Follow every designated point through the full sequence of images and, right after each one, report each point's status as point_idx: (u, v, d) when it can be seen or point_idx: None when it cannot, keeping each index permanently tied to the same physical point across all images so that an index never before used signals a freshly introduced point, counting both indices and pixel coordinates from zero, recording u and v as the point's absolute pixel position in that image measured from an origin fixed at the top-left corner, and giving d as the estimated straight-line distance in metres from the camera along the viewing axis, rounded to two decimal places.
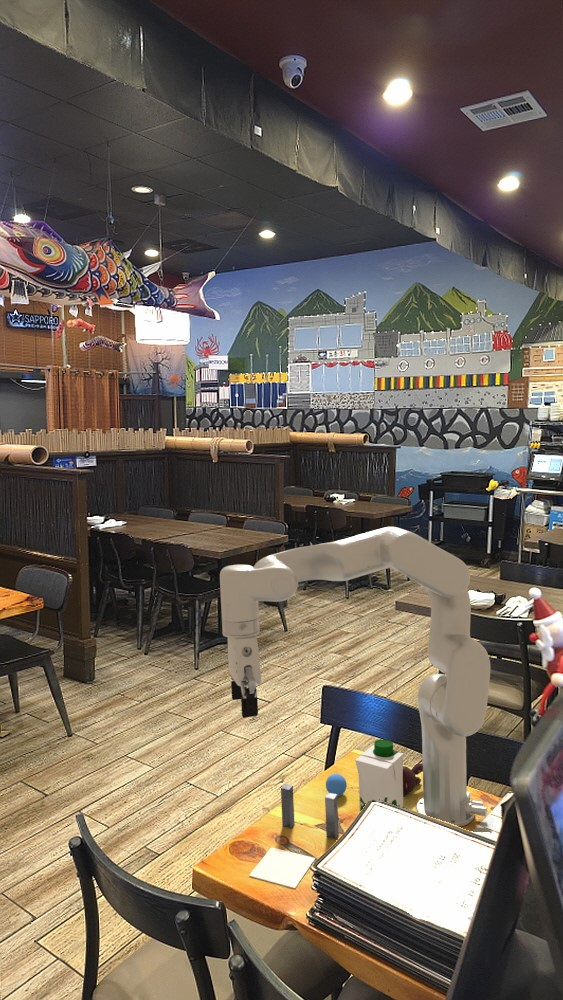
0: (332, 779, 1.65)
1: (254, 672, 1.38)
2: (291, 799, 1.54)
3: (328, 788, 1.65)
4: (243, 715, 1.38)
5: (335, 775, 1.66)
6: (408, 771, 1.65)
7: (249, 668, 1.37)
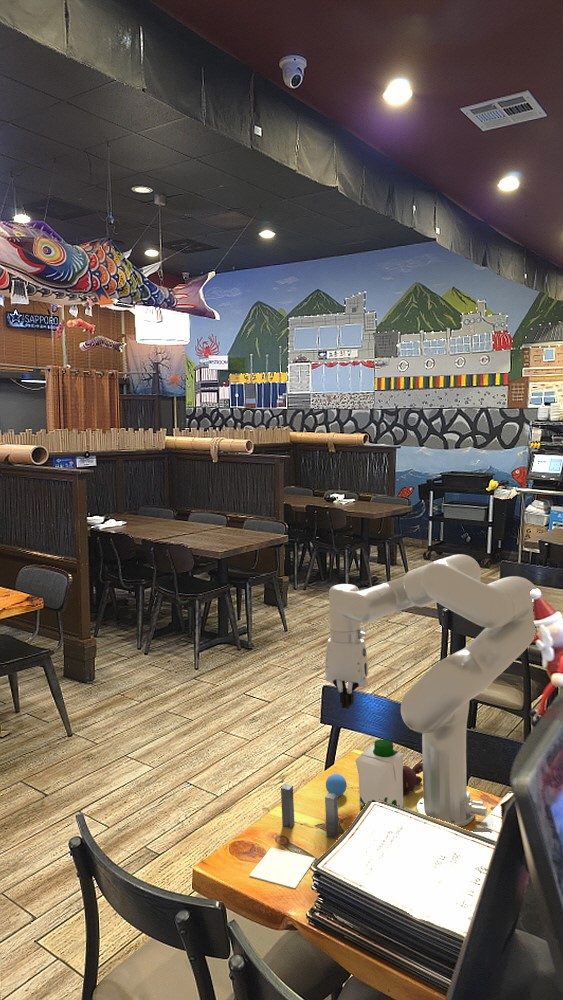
0: (332, 779, 1.65)
1: (367, 667, 1.71)
2: (291, 799, 1.54)
3: (328, 788, 1.65)
4: (348, 707, 1.72)
5: (335, 775, 1.66)
6: (408, 770, 1.65)
7: None
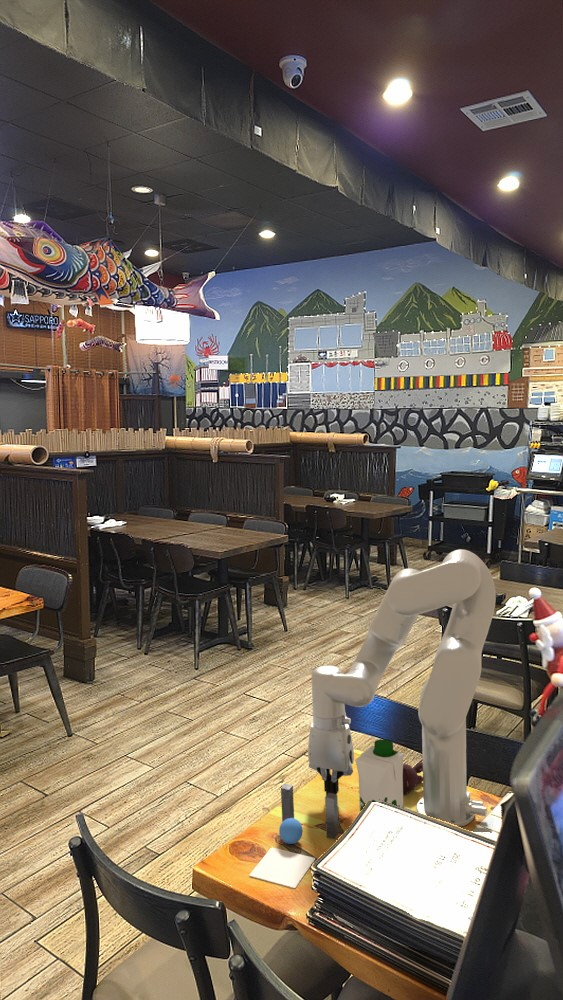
0: None
1: (352, 755, 1.62)
2: (291, 799, 1.54)
3: None
4: None
5: (286, 842, 1.47)
6: (409, 769, 1.66)
7: (348, 757, 1.61)
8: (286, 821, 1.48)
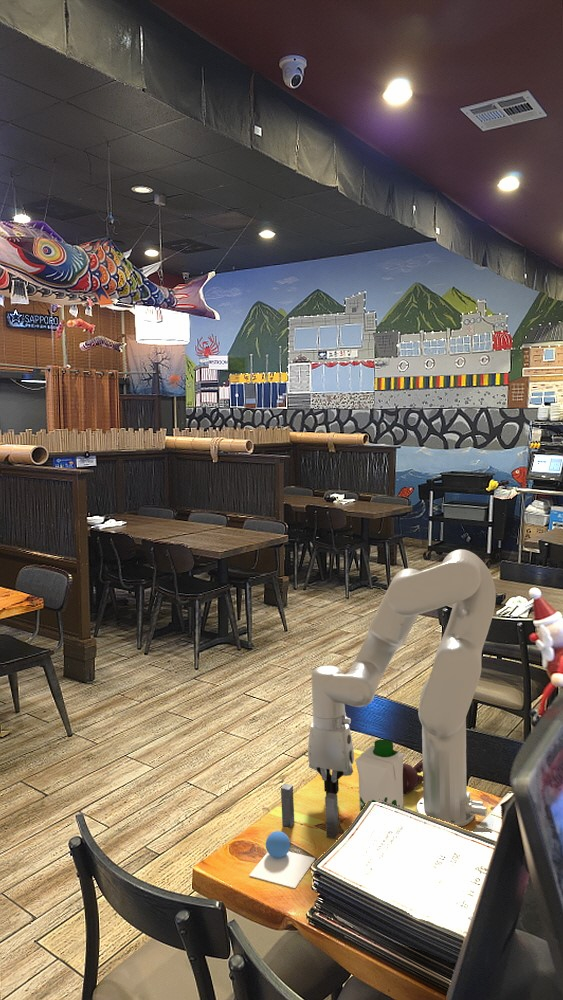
0: None
1: (352, 755, 1.62)
2: (291, 799, 1.54)
3: (276, 831, 1.45)
4: None
5: None
6: (410, 769, 1.66)
7: (348, 757, 1.61)
8: (271, 855, 1.43)
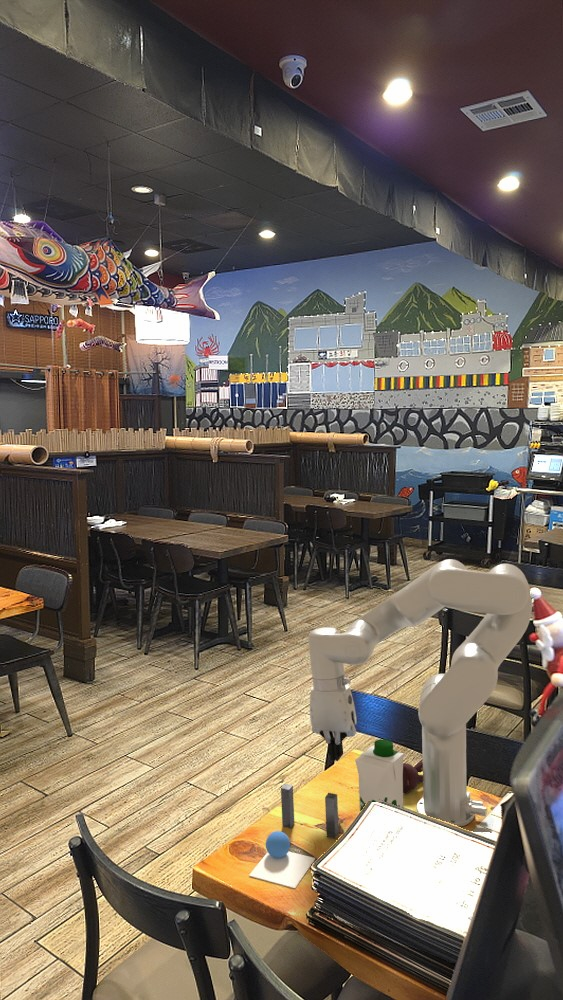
0: None
1: (354, 715, 1.61)
2: (291, 799, 1.54)
3: (276, 831, 1.45)
4: (337, 759, 1.61)
5: None
6: (410, 768, 1.66)
7: None
8: None
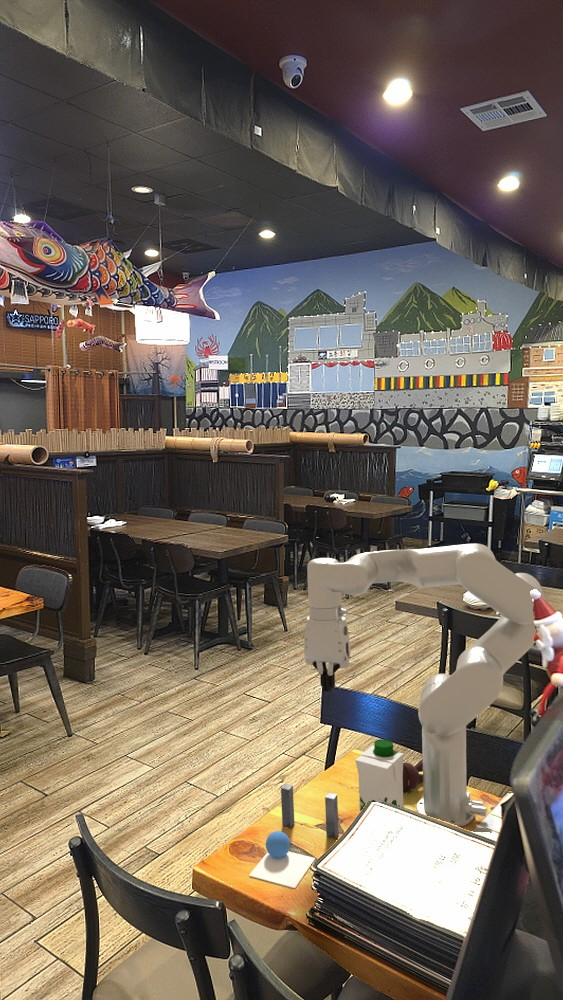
0: None
1: (349, 647, 1.59)
2: (291, 799, 1.54)
3: (276, 831, 1.45)
4: (328, 690, 1.60)
5: None
6: (411, 768, 1.66)
7: None
8: None
